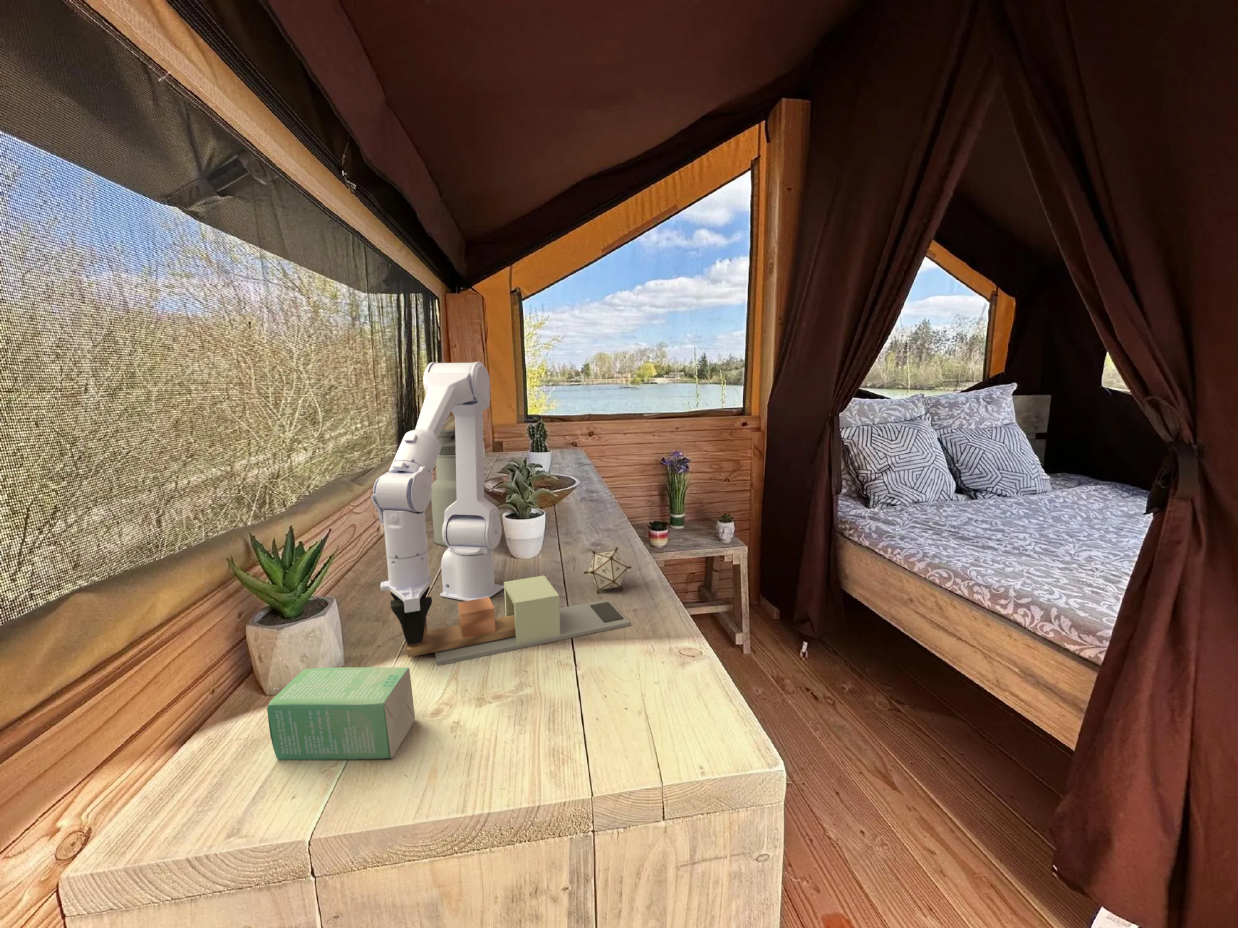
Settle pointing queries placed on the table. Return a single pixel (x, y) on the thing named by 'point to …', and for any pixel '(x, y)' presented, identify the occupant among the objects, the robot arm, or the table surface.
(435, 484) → the water bottle
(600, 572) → the game die
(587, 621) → the track board
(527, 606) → the tunnel
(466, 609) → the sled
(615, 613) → the pit
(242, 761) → the table surface
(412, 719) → the box
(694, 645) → the table surface
